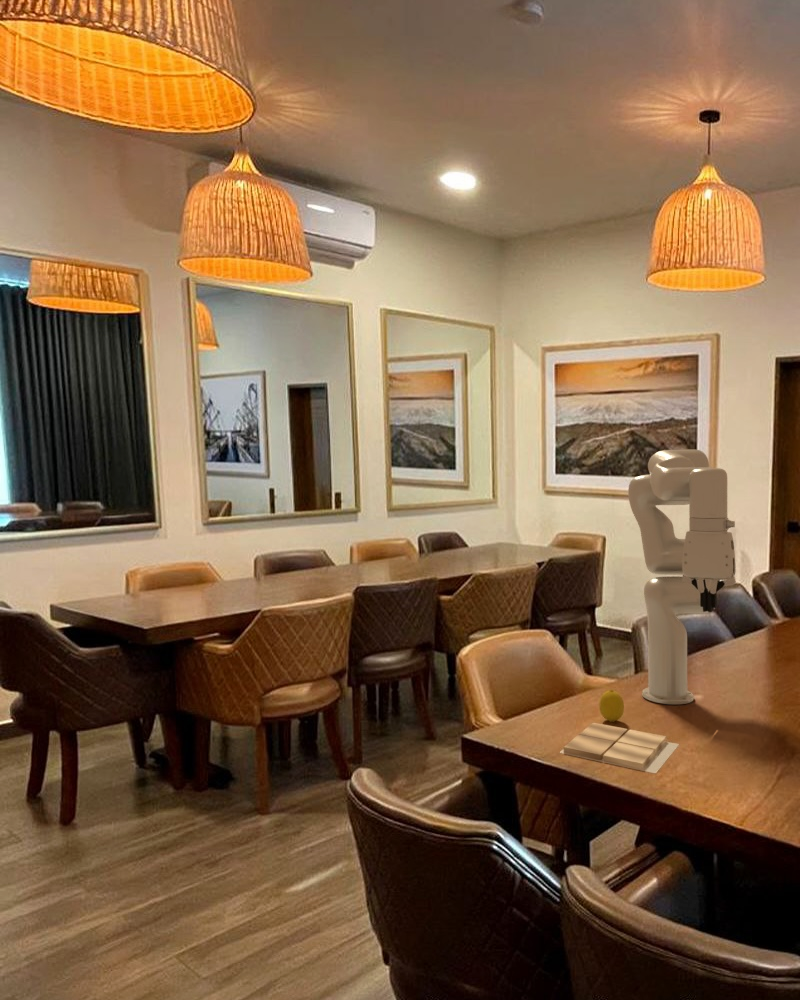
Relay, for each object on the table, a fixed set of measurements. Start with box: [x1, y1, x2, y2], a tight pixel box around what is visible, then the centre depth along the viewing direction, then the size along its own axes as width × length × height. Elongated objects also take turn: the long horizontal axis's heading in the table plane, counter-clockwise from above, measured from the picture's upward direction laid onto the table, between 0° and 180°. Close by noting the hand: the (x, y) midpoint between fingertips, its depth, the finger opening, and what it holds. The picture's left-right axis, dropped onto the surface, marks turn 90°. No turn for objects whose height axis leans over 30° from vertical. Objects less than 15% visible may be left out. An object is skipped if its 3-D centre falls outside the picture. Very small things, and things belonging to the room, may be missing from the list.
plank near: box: [603, 742, 655, 770], centre depth 151 cm, size 8×8×1 cm
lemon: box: [598, 688, 625, 723], centre depth 173 cm, size 6×6×8 cm
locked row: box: [563, 722, 629, 761], centre depth 159 cm, size 18×8×1 cm, turn 145°
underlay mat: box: [559, 741, 680, 775], centre depth 156 cm, size 18×20×1 cm
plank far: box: [617, 729, 668, 755], centre depth 158 cm, size 8×8×1 cm
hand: (708, 610), depth 157 cm, fingers closed
